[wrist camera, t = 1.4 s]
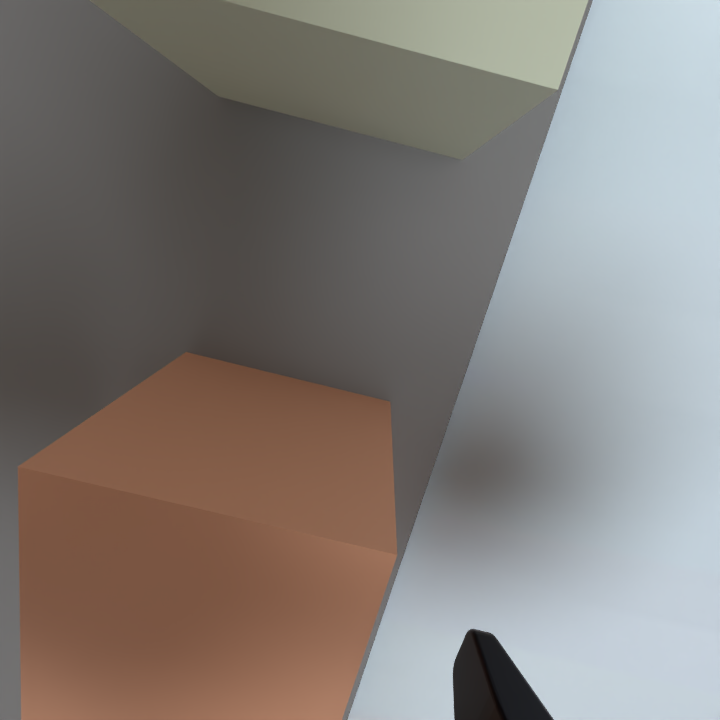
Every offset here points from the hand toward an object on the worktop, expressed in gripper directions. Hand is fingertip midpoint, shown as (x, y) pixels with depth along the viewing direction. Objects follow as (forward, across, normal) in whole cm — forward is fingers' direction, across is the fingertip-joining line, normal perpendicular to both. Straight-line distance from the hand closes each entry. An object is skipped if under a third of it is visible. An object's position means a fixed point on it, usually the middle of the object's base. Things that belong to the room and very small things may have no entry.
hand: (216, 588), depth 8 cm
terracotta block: (+4, 0, 0) cm, 4 cm away
